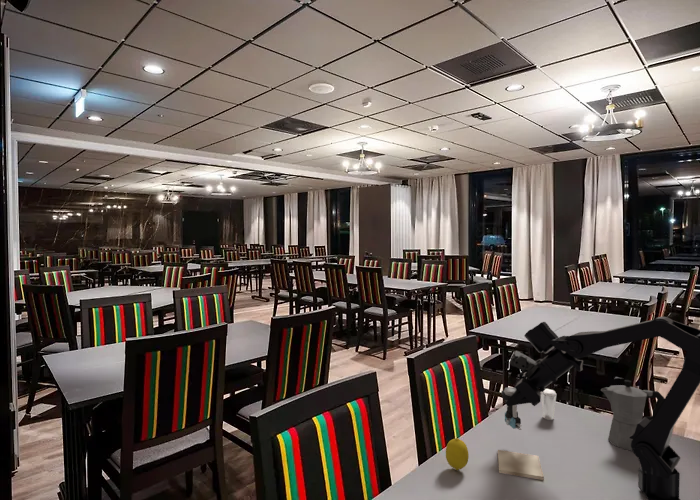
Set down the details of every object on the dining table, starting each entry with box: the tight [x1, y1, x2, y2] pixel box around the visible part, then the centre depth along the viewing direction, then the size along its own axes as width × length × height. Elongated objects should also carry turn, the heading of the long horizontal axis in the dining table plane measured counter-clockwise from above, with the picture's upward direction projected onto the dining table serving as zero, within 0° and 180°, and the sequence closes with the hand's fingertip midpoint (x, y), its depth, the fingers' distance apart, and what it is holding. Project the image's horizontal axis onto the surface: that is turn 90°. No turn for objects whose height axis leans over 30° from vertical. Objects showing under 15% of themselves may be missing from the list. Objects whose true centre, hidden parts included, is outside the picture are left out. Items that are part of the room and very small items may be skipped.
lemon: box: [445, 437, 469, 471], centre depth 101 cm, size 6×6×8 cm
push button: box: [500, 386, 522, 431], centre depth 113 cm, size 7×5×10 cm
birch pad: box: [497, 449, 545, 481], centre depth 103 cm, size 10×10×1 cm
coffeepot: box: [600, 379, 665, 452], centre depth 115 cm, size 15×9×18 cm, turn 72°
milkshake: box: [540, 388, 557, 421], centre depth 131 cm, size 4×5×10 cm
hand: (507, 401), depth 114 cm, fingers closed on push button, 5 cm apart
